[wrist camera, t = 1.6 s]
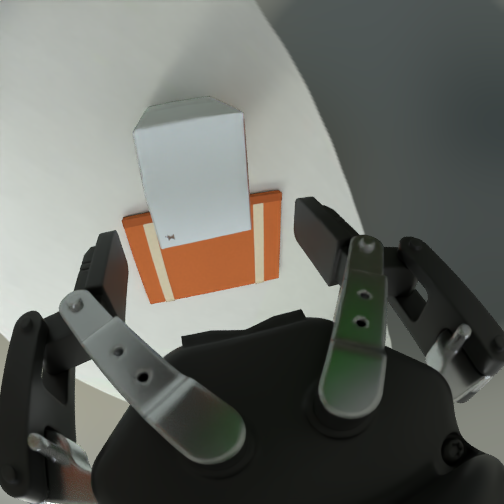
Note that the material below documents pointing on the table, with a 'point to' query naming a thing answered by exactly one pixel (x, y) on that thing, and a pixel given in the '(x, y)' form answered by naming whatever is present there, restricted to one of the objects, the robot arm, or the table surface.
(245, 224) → the small box
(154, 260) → the towel
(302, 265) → the table surface
